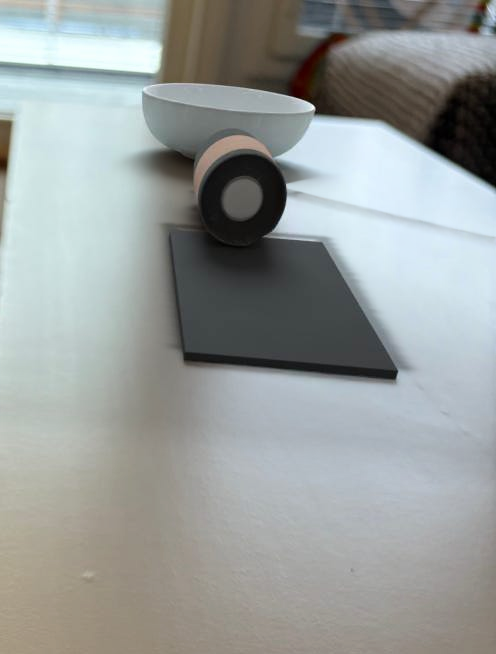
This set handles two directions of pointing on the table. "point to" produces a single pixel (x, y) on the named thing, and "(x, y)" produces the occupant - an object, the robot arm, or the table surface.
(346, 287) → the mat
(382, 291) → the table surface
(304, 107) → the serving bowl
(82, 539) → the table surface
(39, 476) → the table surface
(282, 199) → the travel mug
